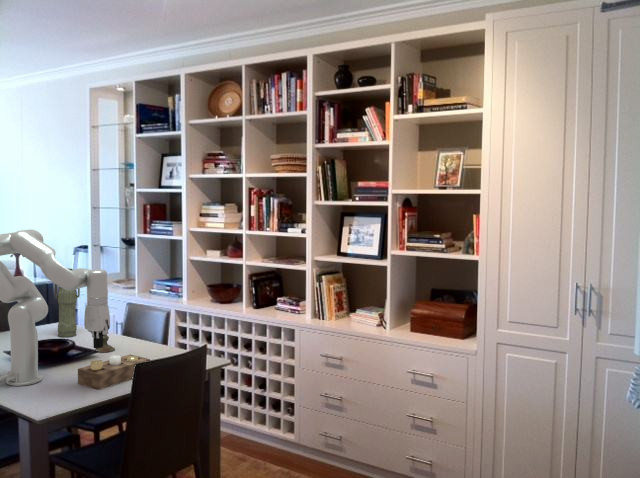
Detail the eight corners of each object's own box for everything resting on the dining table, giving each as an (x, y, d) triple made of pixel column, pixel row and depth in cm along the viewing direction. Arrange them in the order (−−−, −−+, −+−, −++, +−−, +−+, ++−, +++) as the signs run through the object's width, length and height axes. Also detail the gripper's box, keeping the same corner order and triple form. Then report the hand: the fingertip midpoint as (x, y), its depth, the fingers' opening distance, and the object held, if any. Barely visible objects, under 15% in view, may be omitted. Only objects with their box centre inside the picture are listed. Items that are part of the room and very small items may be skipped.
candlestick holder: (93, 353, 268) (94, 289, 265) (95, 348, 276) (96, 286, 274) (114, 352, 270) (114, 289, 268) (115, 347, 279) (116, 286, 277)
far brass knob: (132, 372, 238) (132, 359, 237) (124, 370, 240) (124, 357, 239) (140, 369, 241) (140, 356, 241) (132, 367, 244) (133, 355, 243)
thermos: (53, 334, 299) (53, 268, 297) (78, 332, 305) (78, 267, 302) (55, 338, 292) (55, 270, 289) (80, 336, 297) (80, 269, 295)
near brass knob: (95, 377, 222) (95, 363, 222) (88, 375, 224) (88, 361, 224) (104, 375, 226) (105, 361, 225) (97, 372, 228) (97, 359, 228)
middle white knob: (114, 372, 230) (114, 358, 229) (107, 370, 232) (107, 356, 232) (123, 369, 234) (123, 356, 233) (115, 367, 236) (115, 354, 235)
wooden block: (98, 389, 219) (98, 374, 218) (77, 383, 225) (77, 368, 224) (149, 373, 241) (150, 359, 241) (130, 368, 247) (130, 354, 247)
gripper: (76, 300, 223) (77, 347, 225) (102, 304, 216) (103, 352, 217) (92, 298, 230) (93, 343, 231) (118, 301, 222) (119, 348, 224)
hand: (98, 347), depth 224 cm, fingers closed
